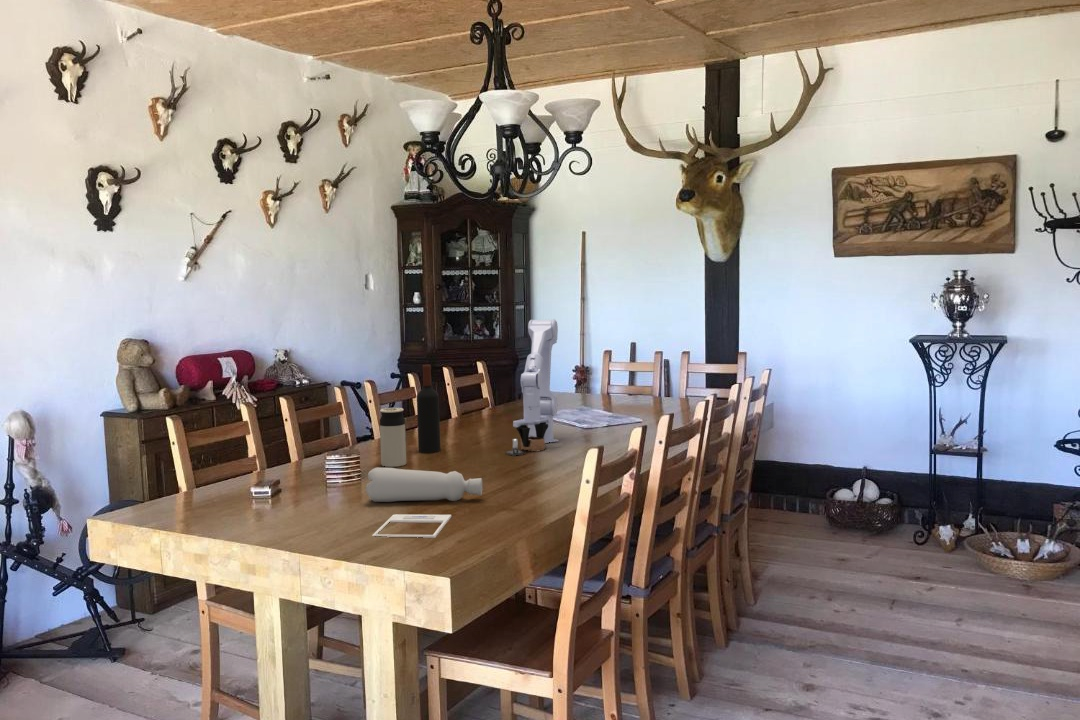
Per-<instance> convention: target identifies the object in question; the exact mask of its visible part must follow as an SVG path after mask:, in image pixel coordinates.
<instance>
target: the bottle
mask: <svg viewBox="0 0 1080 720" xmlns="http://www.w3.org/2000/svg"><path fill="white" fill-rule="evenodd" d="M367 479H368V480H369V482H368V483H367V484H366V488H365V490H366V495H367V496H368V498H369V499H370V500H371V501H373V502H374V503H393V502H412V501H413V502H414V501H439V500H440V501H441V500H444V499H446V500H448V501H451V502H457V501H458V500H460V499H461V500H462V497H463V495H464V493H467V494H468V495H469V496H471V495H473V496H474V495H475V496H482V494H483V477H479V478H478V477H477V478H471V477H470V478H469V479H467V480H465V479H464V476H463V474H462V473H460V472H458V471H456V470H453V471H449V472H448V473H445V472H441V471H430V470H417V469H401V468H396V467H374V468H372V469H371V470H370V471H368V473H367Z"/></svg>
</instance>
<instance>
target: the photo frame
mask: <svg viewBox="0 0 1080 720" xmlns="http://www.w3.org/2000/svg"><path fill="white" fill-rule="evenodd" d="M451 518H452V514H397V513H395V514H394V513H393V514H392V516H390V517H389V518H388V519H387V520H386V521H385V522H384V523H383V524H382V525H381V526H380V527H379V528H378V529H377V530H376V531H375V532H374V533H372V535H371V537H372V536H387V537H386V538H389V537H417V538H418V537H423V538H422V539H435V538H437V536H438V535H439V534H440V532H441V530H443V529H444V527H445V525H446V524H447V523H448V522H449V521H450V519H451ZM389 522H390V523H423V524H425V523H426V524H427V523H431V524H432V523H435V524H436V523H439V524H440V523H441V524H440V525H439V526H438V528H437V529H436V530H435V532H434V533H433V534H387V533H385V534H380V533H379V534H378V532H379V531H381V530H382V529H383V528H384V527H385V526H386V525H387V524H388V523H389ZM390 523H389V524H390ZM389 524H388V525H389ZM388 525H387V526H388ZM387 526H386V527H387ZM386 527H385V528H386ZM385 528H384V529H385ZM384 529H383V530H384ZM383 530H382V531H383ZM382 531H381V532H382ZM417 538H416V539H417ZM418 539H419V538H418Z"/></svg>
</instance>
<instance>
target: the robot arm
mask: <svg viewBox="0 0 1080 720" xmlns="http://www.w3.org/2000/svg"><path fill="white" fill-rule="evenodd" d="M558 326H559V325H558V321H557V320H556V319H555V318H553V319H530V320H529V321H528V325H527V329H528V330H527V332H528V336H530V340H531V350H530V353H529V354H528V355H527V357H526V361H525V366H524V371H523V373H521V374H520V387H521V394H522V399H523V405H522V406H523V419H522V418H521V419H518V420H513V421H512V427H513V428H515V429H516V431H517V432H518V434H519V436H520V440H521V439H522V443H523V447H528V445H529V437H530V436H535V437H539V438H544V439H545V444H547V443H549V442H550V443H554V442H559V439H556V438H554V417H555V416H556V415H557V414H558V397H557V395H556V394H555V393H554V392H553V391H552V390H550V389H551V386H550V385H551V368H552V349H553V346H554V345H555V344H557V342H558V333H559V332H558V331H559V329H558Z"/></svg>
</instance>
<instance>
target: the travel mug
mask: <svg viewBox="0 0 1080 720" xmlns="http://www.w3.org/2000/svg"><path fill="white" fill-rule="evenodd" d="M379 412H380V414H381V416H380V418H379V437H380V440H379V442H380V460H381V461H380V462H381V463H380V465H381V466H382V467H384V466H385V467H384V468H398V467H403V466H405V465H406V464H407V442H406V440H407V439H406V419H405V416H404V415H403V414H404V408H403V407H387V408H381V409H380V410H379Z"/></svg>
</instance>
